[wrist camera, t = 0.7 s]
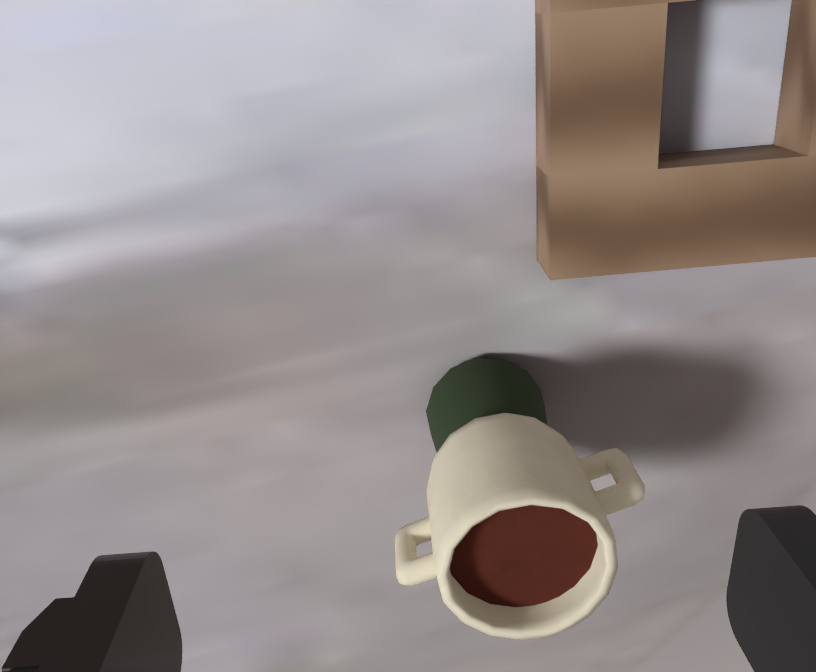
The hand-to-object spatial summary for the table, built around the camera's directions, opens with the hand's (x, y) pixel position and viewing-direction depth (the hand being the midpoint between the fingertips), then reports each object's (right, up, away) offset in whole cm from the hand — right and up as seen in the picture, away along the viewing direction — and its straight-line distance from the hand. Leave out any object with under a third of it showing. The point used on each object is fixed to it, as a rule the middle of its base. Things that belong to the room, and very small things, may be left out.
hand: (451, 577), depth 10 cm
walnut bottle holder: (+13, +15, +23) cm, 30 cm away
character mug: (+3, 0, +29) cm, 30 cm away
